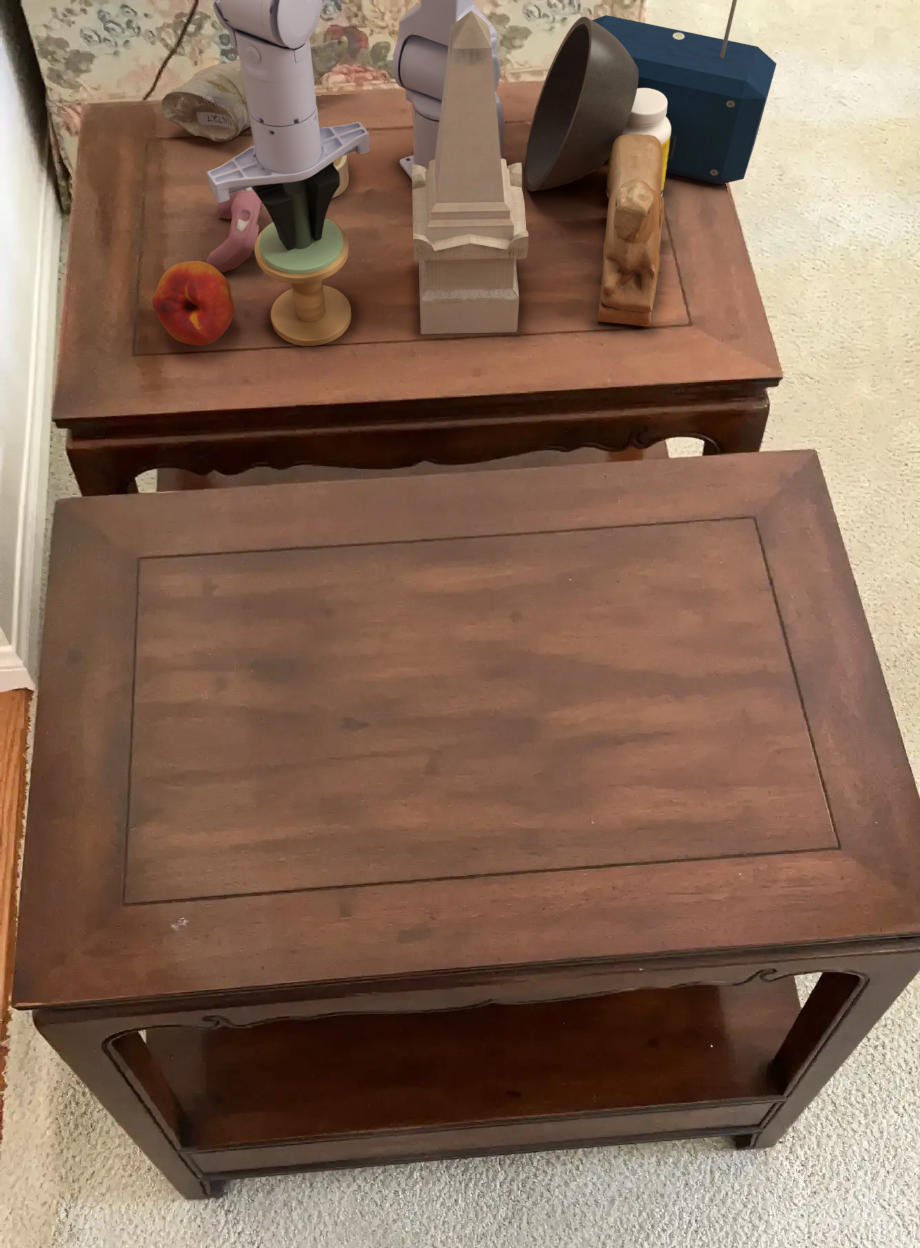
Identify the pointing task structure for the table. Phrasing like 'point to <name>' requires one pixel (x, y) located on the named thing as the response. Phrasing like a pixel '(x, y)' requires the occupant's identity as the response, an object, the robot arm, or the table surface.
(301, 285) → the stand
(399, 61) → the robot arm
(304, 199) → the cover
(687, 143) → the radio
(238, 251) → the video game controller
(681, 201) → the table surface
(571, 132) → the bowl
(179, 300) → the fruit
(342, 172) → the dish
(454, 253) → the miniature monument
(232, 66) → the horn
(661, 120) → the pill bottle
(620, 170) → the sculpture
